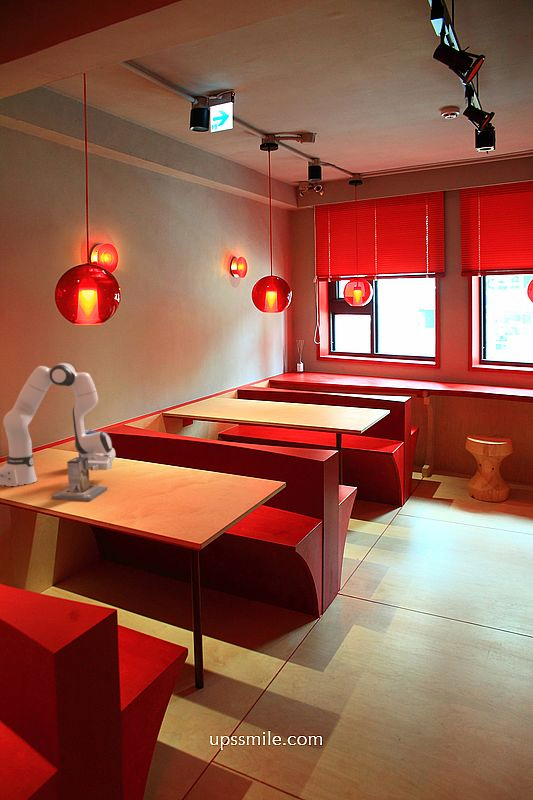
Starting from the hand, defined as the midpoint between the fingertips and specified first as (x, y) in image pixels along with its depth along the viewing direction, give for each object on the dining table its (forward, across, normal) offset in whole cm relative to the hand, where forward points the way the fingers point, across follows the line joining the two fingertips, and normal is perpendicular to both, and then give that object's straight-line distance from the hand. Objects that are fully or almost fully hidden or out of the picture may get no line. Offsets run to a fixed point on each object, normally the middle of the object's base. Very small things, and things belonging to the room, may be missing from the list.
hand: (82, 468), depth 301 cm
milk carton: (-45, -20, +12) cm, 51 cm away
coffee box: (+4, 0, +10) cm, 11 cm away
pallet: (+4, 0, +12) cm, 12 cm away
